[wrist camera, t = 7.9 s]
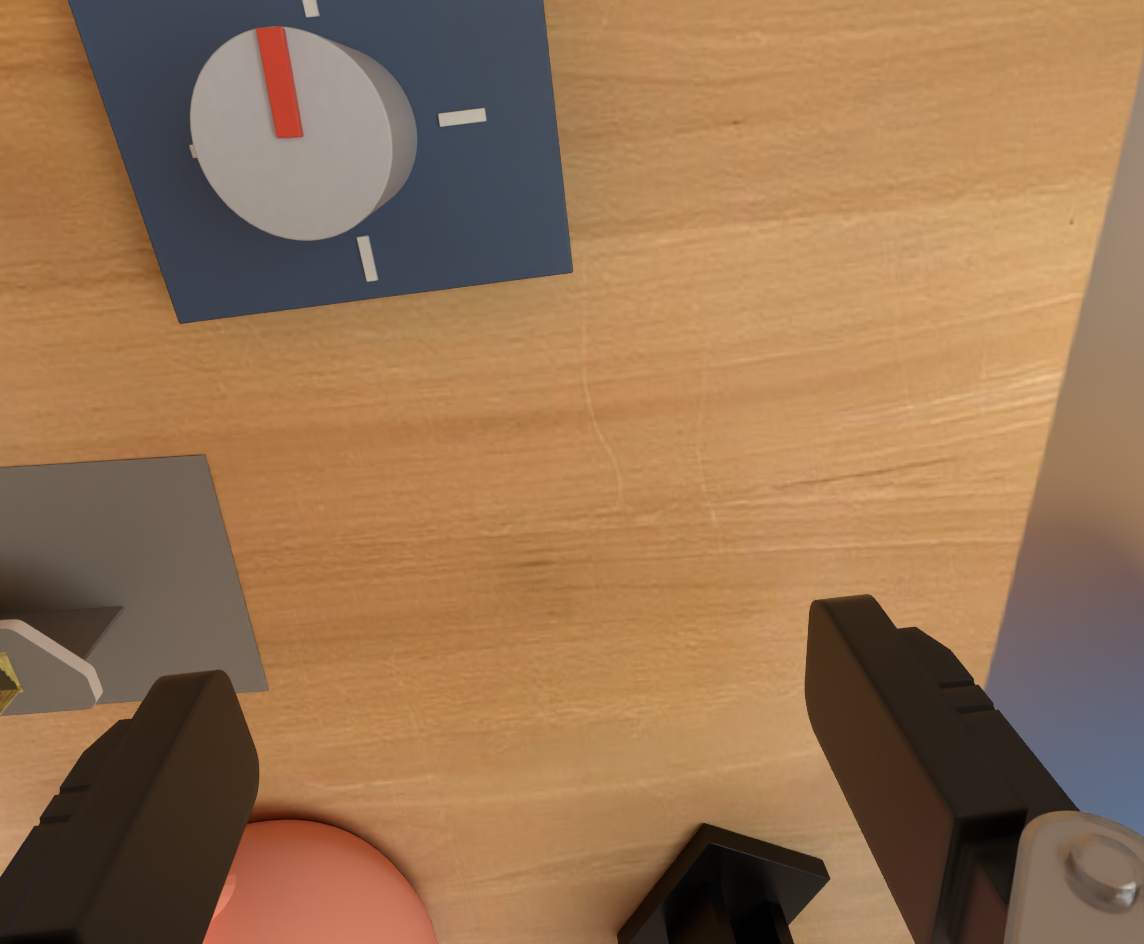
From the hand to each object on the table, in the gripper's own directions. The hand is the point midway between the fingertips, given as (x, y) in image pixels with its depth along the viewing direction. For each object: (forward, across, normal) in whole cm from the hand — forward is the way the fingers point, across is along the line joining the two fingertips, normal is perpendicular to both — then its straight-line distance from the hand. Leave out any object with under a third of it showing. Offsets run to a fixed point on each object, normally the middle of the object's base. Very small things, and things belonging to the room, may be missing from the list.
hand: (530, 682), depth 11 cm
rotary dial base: (+20, -5, +7) cm, 22 cm away
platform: (+20, -22, -10) cm, 31 cm away
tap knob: (+17, -5, +7) cm, 19 cm away
